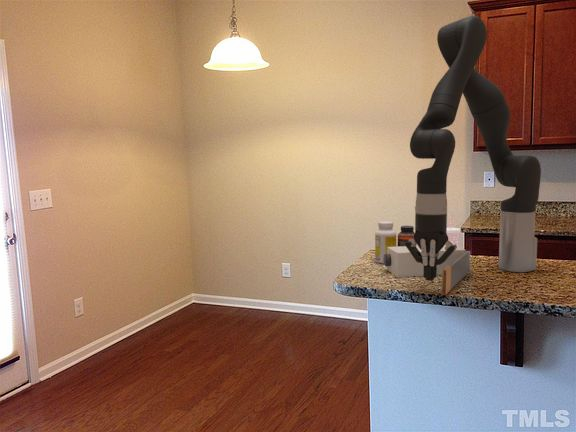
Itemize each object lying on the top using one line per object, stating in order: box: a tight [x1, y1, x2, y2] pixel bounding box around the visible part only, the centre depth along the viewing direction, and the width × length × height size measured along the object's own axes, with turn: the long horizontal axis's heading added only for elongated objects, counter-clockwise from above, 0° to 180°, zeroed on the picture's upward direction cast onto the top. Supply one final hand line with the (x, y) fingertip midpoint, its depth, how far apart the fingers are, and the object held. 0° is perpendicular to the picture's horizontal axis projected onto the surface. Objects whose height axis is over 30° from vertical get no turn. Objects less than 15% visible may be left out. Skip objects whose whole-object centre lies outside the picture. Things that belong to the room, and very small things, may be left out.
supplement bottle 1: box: [374, 220, 397, 265], centre depth 160 cm, size 7×7×13 cm
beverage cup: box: [446, 213, 461, 247], centre depth 168 cm, size 6×6×14 cm
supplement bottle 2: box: [396, 225, 417, 247], centre depth 161 cm, size 6×6×11 cm
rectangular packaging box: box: [383, 245, 466, 278], centre depth 147 cm, size 21×9×8 cm, turn 97°
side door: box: [441, 250, 471, 296], centre depth 133 cm, size 26×1×6 cm, turn 148°
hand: (429, 279), depth 126 cm, fingers closed
